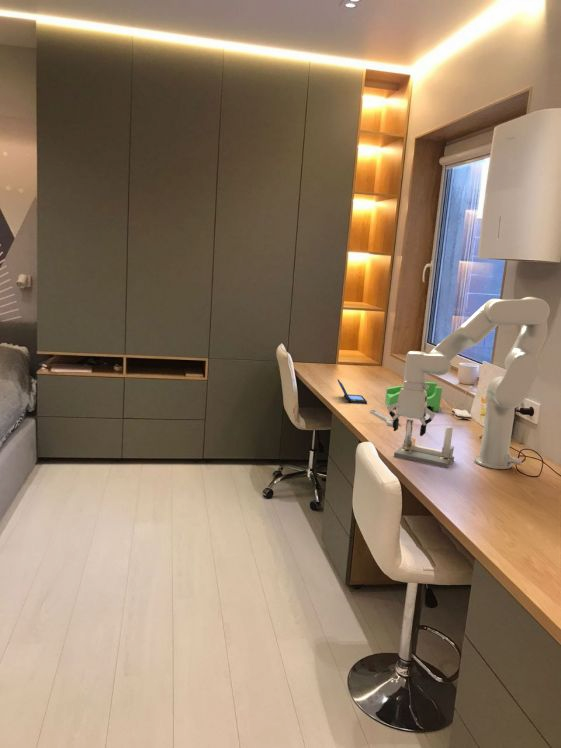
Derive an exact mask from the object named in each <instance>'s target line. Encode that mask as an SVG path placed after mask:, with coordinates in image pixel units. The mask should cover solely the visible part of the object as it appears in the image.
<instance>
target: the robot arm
mask: <svg viewBox="0 0 561 748" xmlns="http://www.w3.org/2000/svg"><path fill="white" fill-rule="evenodd" d="M550 312H551V309H550V305H549V304H548V302H547V301H546V300H544V299H542V298H538V297H534V296H526V297H523V298H520V299H501V298H491V299H489V300H487V301H485V303H484V304H483V305H482V306H480V307H479V308H478V309H477V310H476V311H475V312H474V313H473V314H472V315H471V316H470V317H469V318H468V319H466V320H465V321H464V322H463V323H462V324H461V325H460V326H459V327H458V328H456V329H454V330H453V331H452V332H451V333H450V334H449V335H448V336H446V337H445V338H443V339H442V340H441V341H440V343H438V344H437V345H436V346H435V347H434V348H433V349H432V350H431V351H430V352H429V353H427V352H424V351H420V350H419V351H417V350H410V351H408V352H407V353H406V357H405V364H404V365H405V366H404V374H403V384H402V385H403V388H401V390H400V393H399V397H398V402H397V403H396V404H393V405H390V406H387V411H388V414H389V416H390V417H391V419H392V420H393V427H392V428H393V432H396V431H398V430H399V426H398V424H399V422H400V417H404V418H409V419H414V420H419V421H420V423H421V425H420V429H419V430H420V431H419V437H423V436H424V435H425V434H427V433H426V431H427V425H428V424H429V423H431V422H432V421H433V420H434V418H435V417H436V413H435V412H434V411H433V410H430V409H429V408H428V406H427V391H424V390H425V389H428V388H429V385H426V382H427V381H426V379H427V378H426V377H427V374H430V375H434V376H438V377H440V376H441V377H442V376H445V375H446V374H448V373H449V372H450V370H451V368H452V367H451V366H452V362H451V361H452V360H454V358H455V357H457V356H458V355H460V353H462V352H464V351H465V350H467V349H470V348H473V347H475V346H477V345H478V344H480V343H481V342H482V341H483V340H484V339H485V338H486V337H487V336H488V335H489V334H490V333H492V331H493V330H495V329H496V328H497V327H498V326H520V331H519V334H518V335H517V338H516V340H515V341H514V343H513V345H512V347H511V348H510V351H509V352H508V354H507V355H506V356H505V359H504V369H505V370H506V372H505V374H504V375H499V376H496V377H494V378H492V379H491V380H490V382H489V383H488V385H487V388H486V389H487V390H486V407H485V413H484V414H485V415H484V422H483V431H482V436H481V437H482V438H481V444H480V451H479V455H477V456H475V457H474V462H475V463H476V464H478V465H479V466H482V467H485V468H489V469H495V470H506V469H507V470H508V469H509V470H510V469H511V468H512V465H513V464H514V465H518V466H521V464H522V459H521V458H520V459H519V457H513V456H512V455H511V452H510V448H511V447H510V446H511V441H512V432H513V425H514V420H515V410H516V408H518V407H519V406H521V404H522V403H523V402H524V400H526V397H527V396H528V394H529V392H530V390H531V388H532V387H533V385H534V383H535V382H536V380H537V378H538V376H539V373H540V369H541V364H540V363H541V362H540V360H539V359H538V356H539V354H540V351H541V349H542V347H543V345H544V343H545V341H546V339H547V336H548V318H549V316H550ZM393 409H395V411H394V410H393ZM427 415H428V416H429V417H428V418H426V416H427Z"/></svg>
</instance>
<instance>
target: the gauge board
mask: <svg viewBox="0 0 561 748" xmlns="http://www.w3.org/2000/svg"><path fill="white" fill-rule="evenodd" d="M453 428H454V427H453V426H448V425H447V426H445V429H444V430H445V431H444V438H443V439H444V440H443V447H442V449H436V448H431V447H427V446H421V445H417V444H414V445H413V446H412V447H410V448H409V449H408V450H406V449H405V447H404V445H403V444H404V442H403V443H402V445H401V447H400V448H398V449H397V450H396V451H394V453H393V457H394V458H399V459H404V460H409V461H413V462H417V463H423V464H427V465H432V466H436V467H441V468H446V469H448V468H449V467H450V465H452V463H453V462H454V460H455V456H454V449H455V445H451V444H452V439H453V438H452V437H453Z"/></svg>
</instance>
